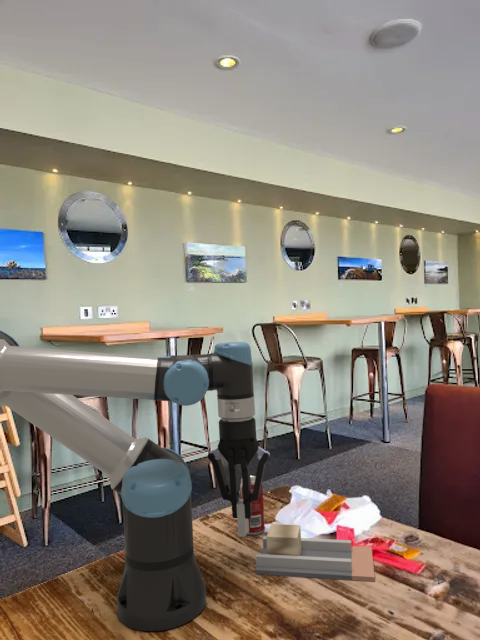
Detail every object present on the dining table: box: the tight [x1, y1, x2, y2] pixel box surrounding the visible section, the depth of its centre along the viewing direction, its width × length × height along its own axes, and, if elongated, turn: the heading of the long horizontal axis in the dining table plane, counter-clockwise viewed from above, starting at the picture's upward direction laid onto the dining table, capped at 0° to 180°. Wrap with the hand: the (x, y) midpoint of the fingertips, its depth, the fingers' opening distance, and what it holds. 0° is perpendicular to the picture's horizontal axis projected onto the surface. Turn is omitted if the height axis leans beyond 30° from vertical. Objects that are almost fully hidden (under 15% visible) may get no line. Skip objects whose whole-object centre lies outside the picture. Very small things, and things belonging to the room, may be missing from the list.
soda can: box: [239, 475, 266, 536], centre depth 113 cm, size 5×5×12 cm
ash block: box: [266, 523, 302, 556], centre depth 98 cm, size 6×6×5 cm
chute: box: [254, 535, 376, 583], centre depth 97 cm, size 22×12×3 cm, turn 78°
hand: (243, 533), depth 100 cm, fingers closed
